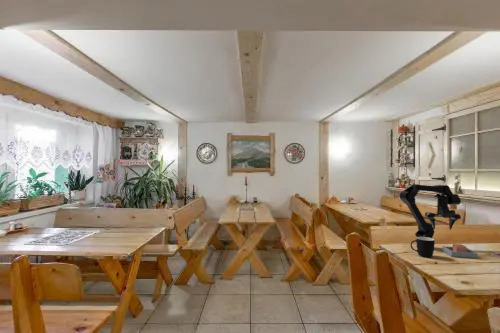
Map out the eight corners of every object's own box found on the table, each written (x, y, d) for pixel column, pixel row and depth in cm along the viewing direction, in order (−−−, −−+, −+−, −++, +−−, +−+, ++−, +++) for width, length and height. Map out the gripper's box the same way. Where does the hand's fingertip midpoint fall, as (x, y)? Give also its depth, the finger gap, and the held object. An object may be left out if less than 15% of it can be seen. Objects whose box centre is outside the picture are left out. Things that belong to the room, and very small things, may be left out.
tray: (451, 256, 170) (451, 251, 170) (442, 251, 182) (442, 246, 182) (477, 258, 168) (477, 253, 168) (466, 252, 179) (466, 247, 179)
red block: (456, 254, 173) (456, 246, 173) (452, 252, 178) (452, 243, 178) (466, 255, 172) (466, 246, 172) (461, 253, 177) (462, 244, 177)
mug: (434, 255, 172) (434, 238, 172) (434, 259, 165) (434, 241, 165) (410, 252, 179) (411, 235, 179) (409, 255, 171) (410, 238, 171)
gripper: (431, 205, 184) (431, 230, 184) (465, 206, 181) (464, 232, 181) (424, 203, 195) (424, 227, 195) (456, 204, 191) (456, 228, 191)
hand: (442, 229), depth 190 cm, fingers open, 9 cm apart
